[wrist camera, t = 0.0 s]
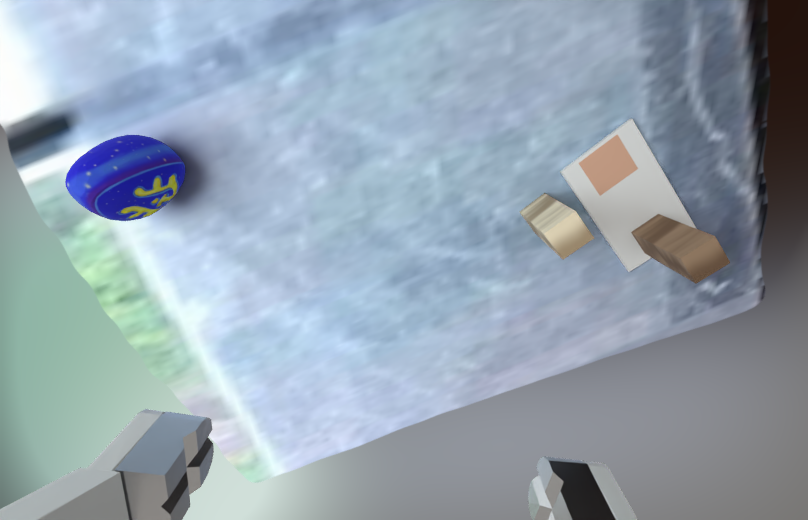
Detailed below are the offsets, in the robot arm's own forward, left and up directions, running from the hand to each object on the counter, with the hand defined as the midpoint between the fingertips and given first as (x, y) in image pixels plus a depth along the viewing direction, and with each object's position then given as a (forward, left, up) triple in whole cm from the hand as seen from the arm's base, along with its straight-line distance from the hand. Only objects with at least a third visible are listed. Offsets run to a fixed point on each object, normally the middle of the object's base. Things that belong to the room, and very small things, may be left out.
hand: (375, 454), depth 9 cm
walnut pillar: (+4, +38, -47) cm, 61 cm away
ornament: (+4, -35, -48) cm, 60 cm away
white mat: (-1, +33, -48) cm, 58 cm away
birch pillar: (+3, +21, -48) cm, 52 cm away
